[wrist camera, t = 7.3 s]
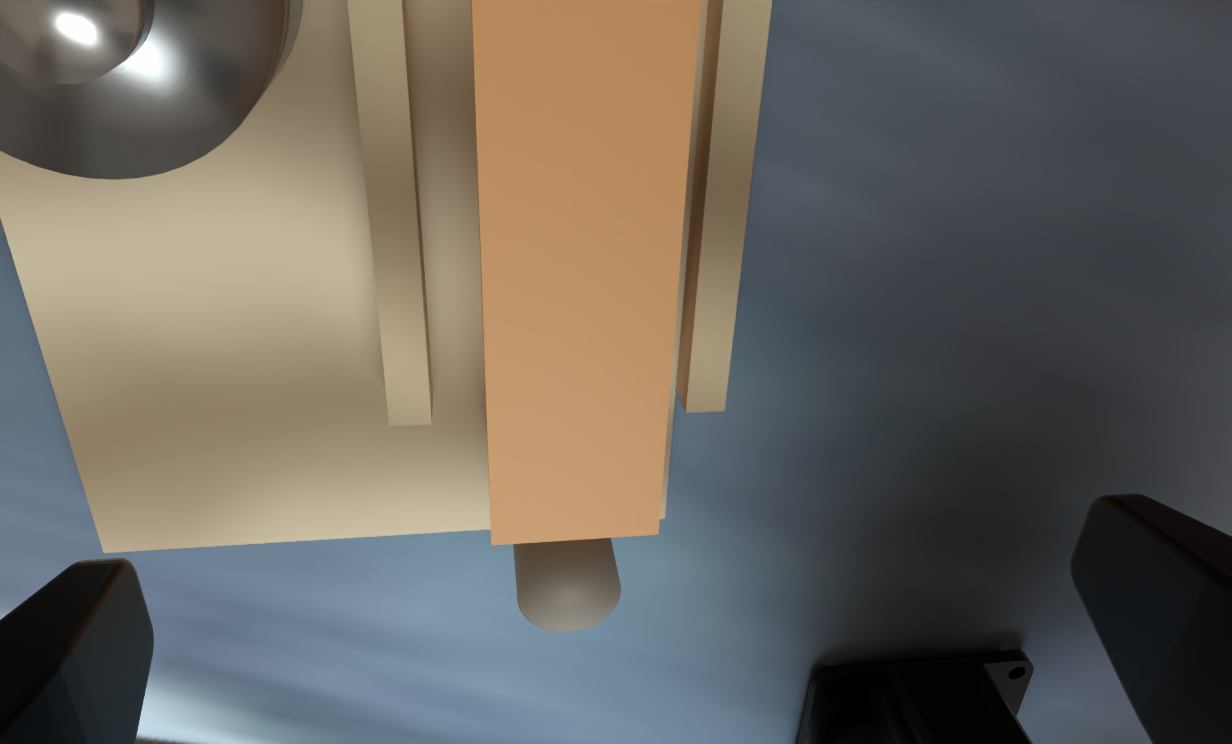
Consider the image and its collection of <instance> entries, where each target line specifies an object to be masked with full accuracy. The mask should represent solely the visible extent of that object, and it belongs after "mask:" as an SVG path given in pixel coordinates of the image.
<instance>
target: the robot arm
mask: <svg viewBox="0 0 1232 744" xmlns="http://www.w3.org/2000/svg"><path fill="white" fill-rule="evenodd" d="M1070 568H1071V576H1072V580H1073V583H1074V585H1075V587H1076V590H1077V592H1078V594H1079V596H1080V598H1081V600H1082V602H1083V604H1084V606H1085V609H1086V611H1087V613H1088V615H1089V617H1090V619H1091V621H1092V623H1093V625H1094V628H1095V630H1096V632H1097V634H1098V636H1099V638H1100V640H1101V642H1102V644H1103V646H1104V649H1105V651H1106V653H1107V655H1108V657H1109V659H1110V661H1111V663H1112V665H1113V668H1114V670H1115V672H1116V674H1117V676H1118V678H1119V680H1120V682H1121V684H1122V687H1123V689H1124V691H1125V693H1126V695H1127V697H1128V699H1129V701H1130V703H1131V705H1132V707H1133V709H1134V711H1135V713H1136V715H1137V717H1138V719H1139V721H1140V722H1141V724H1142V726H1143V728H1144V729H1145V731H1146V733H1147V735H1148V736H1149V738H1150V740H1151V742H1152V744H1232V536H1230V535H1227V534H1225V533H1223V532H1221V531H1219V530H1217V529H1215V528H1213V527H1210V526H1208V525H1206V524H1204V523H1202V522H1200V521H1198V520H1196V519H1193V518H1191V517H1189V516H1187V515H1185V514H1183V513H1181V512H1179V511H1176V510H1174V509H1172V508H1170V507H1168V506H1166V505H1164V504H1162V503H1159V502H1157V501H1155V500H1153V499H1151V498H1149V497H1147V496H1144V495H1140V494H1117V495H1105V496H1101V497H1099V498H1097V499H1096V500H1095V501H1094V502H1093V503H1092V504H1091V506H1090V508H1089V511H1088V514H1087V516H1086V519H1085V522H1084V524H1083V527H1082V530H1081V532H1080V535H1079V538H1078V540H1077V543H1076V546H1075V548H1074V551H1073V554H1072V557H1071V564H1070ZM153 646H154V635H153V628H152V623H151V620H150V617H149V613H148V610H147V606H146V603H145V599H144V596H143V593H142V589H141V586H140V582H139V579H138V575H137V572H136V570H135V568H134V566H133V565H132V563H131V562H130V561H128V560H126V559H124V558H113V559H97V560H84V561H79V562H76V563H74V564H73V565H71V566H69V567H68V568H67V569H65V570H64V571H63V572H61V573H60V574H59V575H58V576H56V577H55V578H54V579H52V580H51V581H50V582H49V583H47V584H46V585H45V586H43V587H42V588H41V589H40V590H38V591H37V592H36V593H34V594H33V595H32V596H31V597H29V598H28V599H27V600H25V601H24V602H23V603H22V604H20V605H19V606H18V607H16V608H15V609H14V610H13V611H11V612H10V613H9V614H7V615H6V616H5V617H4V618H2V619H1V620H0V744H135V740H136V735H137V730H138V725H139V720H140V715H141V710H142V705H143V700H144V695H145V690H146V686H147V681H148V676H149V671H150V666H151V661H152V655H153ZM1033 668H1034V667H1033V665H1032V663H1031V662H1030V660H1029V659H1028V657H1027V656H1026V654H1025V653H1024V652H1022V651H1020V650H1008V651H996V652H985V653H973V654H962V655H950V656H939V657H927V658H916V659H904V660H892V661H881V662H869V663H858V664H846V665H835V666H828V667H823V668H822V669H820V670H818V671H817V672H815V673H814V674H813V676H812V678H811V680H810V685H809V690H808V694H807V699H806V704H805V709H804V714H803V719H802V723H801V728H800V733H799V738H798V743H797V744H1033V743H1032V742H1031V740H1030V739H1029V737H1028V735H1027V734H1026V732H1025V731H1024V729H1023V727H1022V726H1021V724H1020V723H1019V721H1018V719H1017V718H1016V716H1017V713H1018V710H1019V708H1020V705H1021V702H1022V700H1023V697H1024V694H1025V692H1026V689H1027V686H1028V684H1029V681H1030V679H1031V676H1032V673H1033Z"/></svg>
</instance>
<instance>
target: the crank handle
mask: <svg viewBox="0 0 1232 744" xmlns="http://www.w3.org/2000/svg"><path fill="white" fill-rule="evenodd" d="M302 11H303V0H0V151H2V152H3V153H5V154H7V155H9V156H11V157H14V158H16V159H19V160H21V161H24V162H26V163H29V164H32V165H34V166H37V167H40V168H43V169H47V170H51V171H54V172H58V173H61V174H66V175H72V176H78V177H84V178H91V179H110V180H119V179H133V178H142V177H147V176H152V175H158V174H163V173H166V172H168V171H171V170H174V169H177V168H180V167H183V166H186V165H187V164H189V163H191V162H193V161H195V160H197V159H199V158H201V157H203V156H205V155H206V154H208V153H209V152H211V151H212V150H213V149H215V148H216V147H218V146H219V145H220V144H222V143H223V142H224V141H225V140H226V139H227V138H228V137H229V136H230V135H231V134H232V133H233V132H234V131H235V130H237V129H238V128H239V126H240V125H241V124H242V122H243V121H244V120H245V118H246V117H247V116H248V114H249V113H250V112H251V110H252V109H253V108H254V106H255V105H256V104H257V102H258V101H259V100H260V98H261V97H262V96H263V94H264V93H265V92H266V90H267V89H268V87H269V86H270V85H271V83H272V82H273V81H274V79H275V78H276V77H277V75H278V74H279V73H280V71H281V70H282V68H283V66H284V64H285V63H286V61H287V59H288V57H289V55H290V53H291V51H292V48H293V46H294V43H295V40H296V38H297V35H298V31H299V26H300V22H301V17H302Z"/></svg>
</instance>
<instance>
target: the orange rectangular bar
mask: <svg viewBox="0 0 1232 744" xmlns="http://www.w3.org/2000/svg"><path fill="white" fill-rule="evenodd" d="M700 7H701V0H471V21H472V48H473V75H474V102H475V129H476V156H477V183H478V211H479V238H480V265H481V292H482V319H483V346H484V374H485V401H486V428H487V452H488V476H489V499H490V523H491V545H505V544H521V543H536V542H552V541H567V540H583V539H599V538H614V537H630V536H645V535H658V534H659V522H660V509H661V497H662V484H663V471H664V459H665V446H666V434H667V421H668V409H669V396H670V384H671V371H672V358H673V346H674V333H675V321H676V308H677V296H678V283H679V271H680V258H681V245H682V233H683V220H684V208H685V195H686V183H687V170H688V157H689V145H690V132H691V120H692V107H693V95H694V82H695V70H696V57H697V44H698V32H699V19H700Z"/></svg>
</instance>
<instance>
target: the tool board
mask: <svg viewBox="0 0 1232 744" xmlns="http://www.w3.org/2000/svg"><path fill="white" fill-rule="evenodd" d="M771 7H772V0H701V7H700V19H699V32H698V44H697V57H696V70H695V82H694V95H693V107H692V120H691V132H690V145H689V157H688V170H687V183H686V195H685V208H684V220H683V233H682V245H681V258H680V271H679V283H678V296H677V308H676V321H675V333H674V346H673V358H672V371H671V384H670V396H669V409H668V421H667V434H666V446H665V459H664V471H663V484H662V497H661V509H660V519H665V512H666V500H667V488H668V476H669V464H670V452H671V440H672V428H673V416H674V404H675V392H676V389H677V391H678V394H679V397H680V399H681V402H682V404H683V407H684V410H685V412H686V413H696V412H719V411H725V403H726V395H727V386H728V378H729V369H730V360H731V352H732V343H733V335H734V326H735V317H736V309H737V300H738V292H739V283H740V274H741V266H742V257H743V248H744V240H745V231H746V223H747V214H748V205H749V197H750V188H751V180H752V171H753V162H754V154H755V145H756V136H757V128H758V119H759V111H760V102H761V93H762V85H763V76H764V68H765V59H766V50H767V42H768V33H769V24H770V16H771ZM0 218H1V221H2V224H3V227H4V231H5V234H6V237H7V240H8V244H9V247H10V250H11V253H12V256H13V260H14V263H15V266H16V269H17V273H18V276H19V279H20V282H21V286H22V289H23V292H24V295H25V299H26V302H27V305H28V308H29V312H30V315H31V318H32V321H33V325H34V328H35V331H36V334H37V338H38V341H39V344H40V347H41V351H42V354H43V357H44V360H45V364H46V367H47V370H48V373H49V377H50V380H51V383H52V386H53V390H54V393H55V396H56V399H57V403H58V406H59V409H60V412H61V416H62V419H63V422H64V425H65V429H66V432H67V435H68V438H69V441H70V445H71V448H72V451H73V454H74V458H75V461H76V464H77V467H78V471H79V474H80V477H81V480H82V484H83V487H84V490H85V493H86V497H87V500H88V503H89V506H90V510H91V513H92V516H93V519H94V523H95V526H96V529H97V532H98V536H99V539H100V542H101V545H102V549H103V552H104V553H112V552H129V551H145V550H161V549H177V548H194V547H210V546H226V545H243V544H259V543H275V542H292V541H308V540H324V539H340V538H357V537H373V536H389V535H406V534H422V533H438V532H454V531H471V530H487V529H491V523H490V499H489V476H488V452H487V428H486V401H485V374H484V346H483V319H482V292H481V265H480V238H479V211H478V183H477V156H476V129H475V102H474V75H473V48H472V21H471V0H303V11H302V17H301V22H300V26H299V31H298V35H297V38H296V40H295V43H294V46H293V48H292V51H291V53H290V55H289V57H288V59H287V61H286V63H285V64H284V66H283V68H282V70H281V71H280V73H279V74H278V75H277V77H276V78H275V79H274V81H273V82H272V83H271V85H270V86H269V87H268V89H267V90H266V92H265V93H264V94H263V96H262V97H261V98H260V100H259V101H258V102H257V104H256V105H255V106H254V108H253V109H252V110H251V112H250V113H249V114H248V116H247V117H246V118H245V120H244V121H243V122H242V124H241V125H240V126H239V128H238V129H237V130H235V131H234V132H233V133H232V134H231V135H230V136H229V137H228V138H227V139H226V140H225V141H224V142H223V143H222V144H220V145H219V146H218V147H216V148H215V149H213V150H212V151H211V152H209V153H208V154H206V155H205V156H203V157H201V158H199V159H197V160H195V161H193V162H191V163H189V164H187V165H186V166H183V167H180V168H177V169H174V170H171V171H168V172H166V173H163V174H158V175H152V176H147V177H142V178H133V179H119V180H110V179H91V178H84V177H78V176H72V175H66V174H61V173H58V172H54V171H51V170H47V169H43V168H40V167H37V166H34V165H32V164H29V163H26V162H24V161H21V160H19V159H16V158H14V157H11V156H9V155H7V154H5V153H3V152H2V151H0ZM513 545H514V559H515V572H516V586H517V599H518V605H519V608H520V610H521V612H522V614H523V615H524V617H525V618H526V619H527V620H528V621H529V622H531V623H532V624H534V625H535V626H537V627H539V628H542V629H545V630H548V631H553V632H574V631H579V630H583V629H586V628H589V627H591V626H594V625H595V624H597V623H599V622H601V621H602V620H603V619H605V618H606V617H607V616H608V615H609V614H610V613H611V612H612V611H613V609H614V608H615V607H616V605H617V603H618V601H619V597H620V592H621V586H620V581H619V576H618V571H617V567H616V562H615V557H614V552H613V548H612V543H611V538H599V539H583V540H567V541H552V542H536V543H521V544H513Z"/></svg>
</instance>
